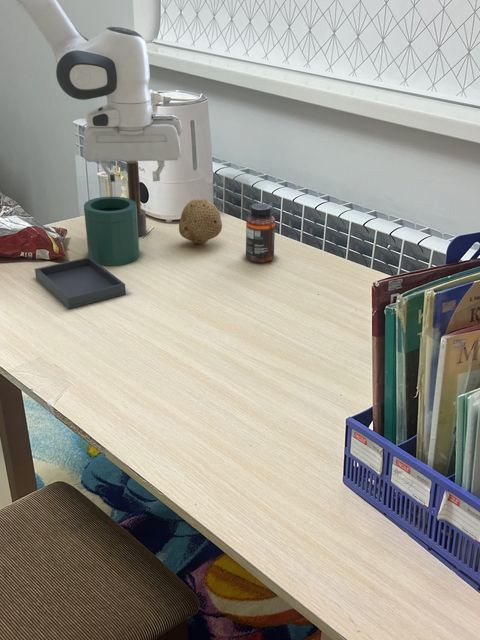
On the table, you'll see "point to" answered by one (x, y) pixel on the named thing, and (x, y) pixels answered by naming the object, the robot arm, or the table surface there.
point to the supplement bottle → (260, 233)
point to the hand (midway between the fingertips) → (134, 181)
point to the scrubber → (136, 195)
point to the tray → (80, 282)
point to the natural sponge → (200, 221)
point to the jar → (112, 230)
